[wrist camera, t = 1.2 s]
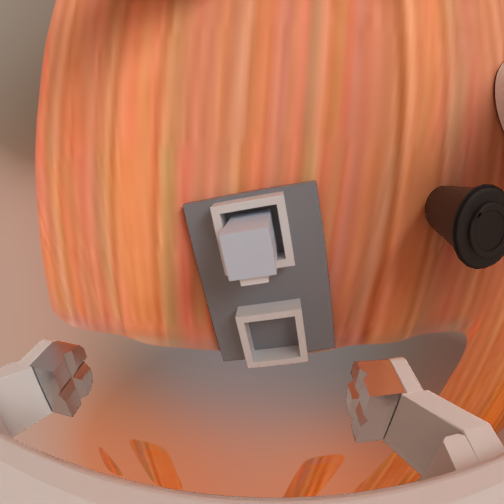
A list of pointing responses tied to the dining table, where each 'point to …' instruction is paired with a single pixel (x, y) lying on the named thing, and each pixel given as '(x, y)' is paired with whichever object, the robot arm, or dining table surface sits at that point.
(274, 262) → the plug
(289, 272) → the panel
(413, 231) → the dining table surface
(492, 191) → the coffee cup
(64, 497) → the robot arm
